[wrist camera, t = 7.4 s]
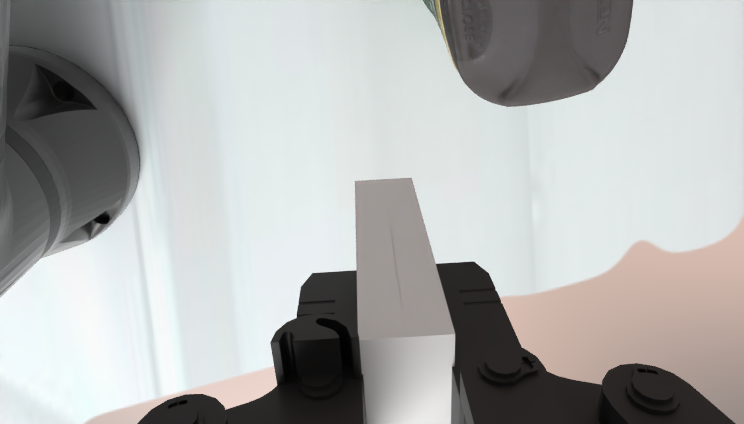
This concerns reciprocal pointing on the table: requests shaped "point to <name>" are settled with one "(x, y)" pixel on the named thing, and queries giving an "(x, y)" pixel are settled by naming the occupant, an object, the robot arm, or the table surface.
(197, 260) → the table surface
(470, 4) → the coffee jar
